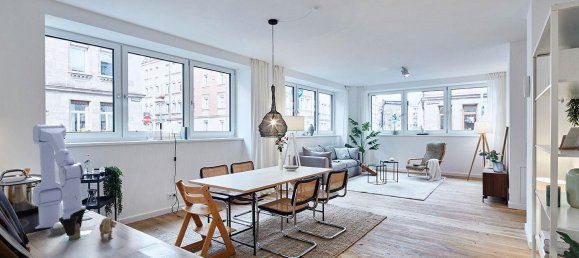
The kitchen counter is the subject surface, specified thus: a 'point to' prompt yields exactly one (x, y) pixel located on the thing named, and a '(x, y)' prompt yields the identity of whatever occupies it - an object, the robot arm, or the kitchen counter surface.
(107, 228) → the lion figurine
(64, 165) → the robot arm
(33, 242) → the kitchen counter surface
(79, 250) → the kitchen counter surface
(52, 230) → the dome housing
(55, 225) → the dome cap
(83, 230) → the game track
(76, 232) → the walnut pawn
